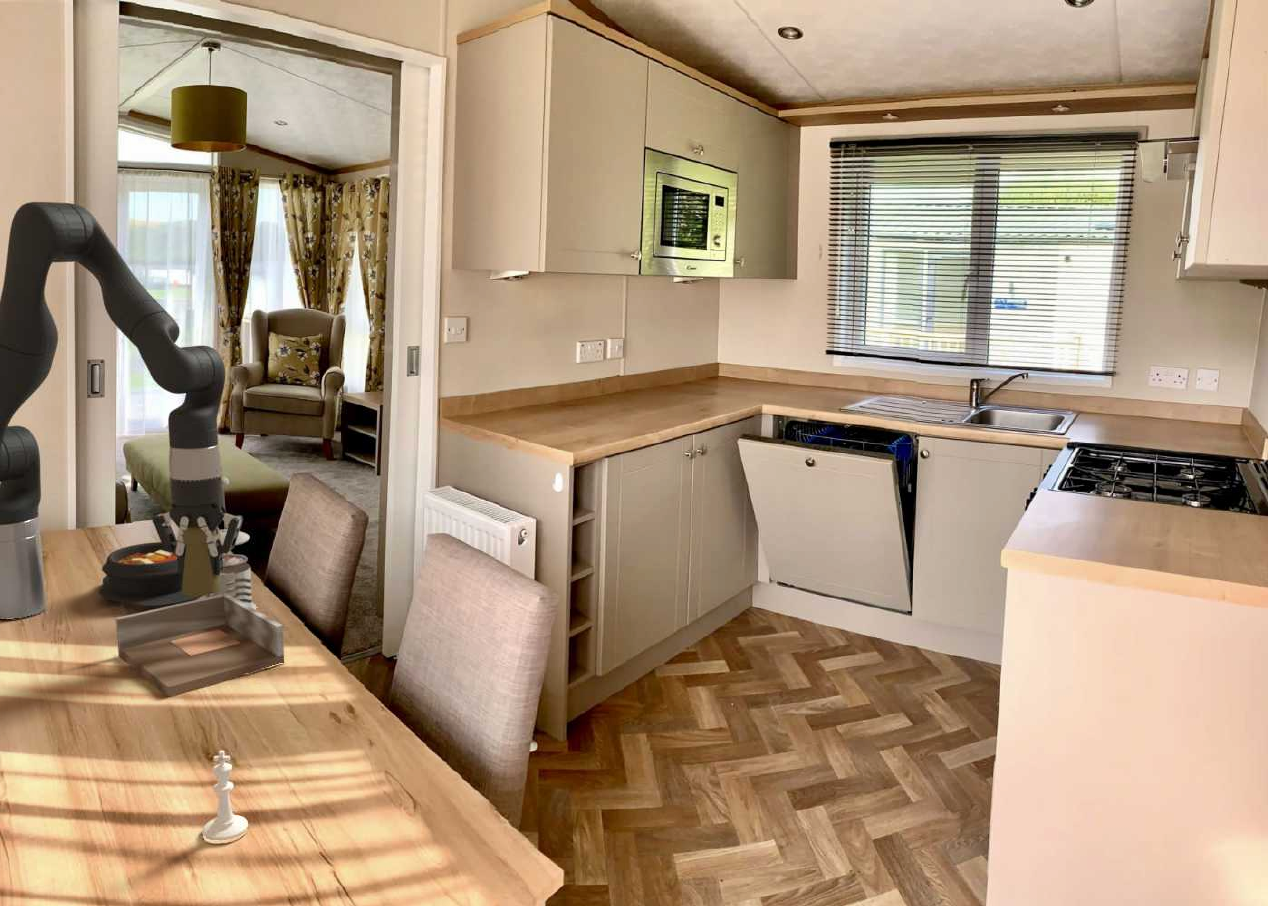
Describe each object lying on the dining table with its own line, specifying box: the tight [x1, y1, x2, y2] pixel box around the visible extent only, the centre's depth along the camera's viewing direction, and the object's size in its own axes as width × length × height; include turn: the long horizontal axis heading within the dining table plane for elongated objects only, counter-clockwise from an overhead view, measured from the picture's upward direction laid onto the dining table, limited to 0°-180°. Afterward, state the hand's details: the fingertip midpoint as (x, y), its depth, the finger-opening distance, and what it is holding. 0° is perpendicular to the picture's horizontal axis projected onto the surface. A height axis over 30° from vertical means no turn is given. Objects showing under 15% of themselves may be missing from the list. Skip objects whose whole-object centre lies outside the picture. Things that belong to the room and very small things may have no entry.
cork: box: [182, 526, 222, 596], centre depth 158 cm, size 6×6×11 cm
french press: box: [204, 477, 258, 610], centre depth 176 cm, size 10×12×25 cm
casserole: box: [98, 541, 205, 609], centre depth 186 cm, size 25×19×8 cm
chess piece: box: [202, 750, 249, 841], centre depth 111 cm, size 5×5×10 cm
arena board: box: [115, 593, 285, 698], centre depth 157 cm, size 20×18×6 cm
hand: (201, 576), depth 159 cm, fingers closed on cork, 4 cm apart
